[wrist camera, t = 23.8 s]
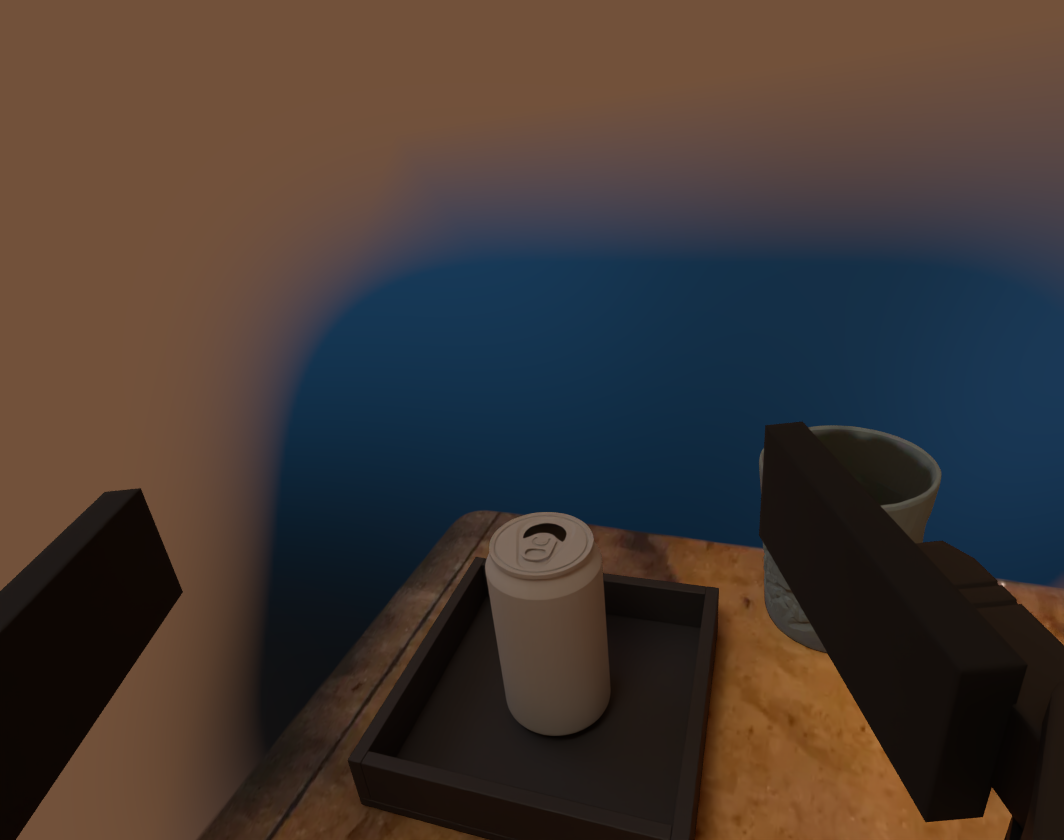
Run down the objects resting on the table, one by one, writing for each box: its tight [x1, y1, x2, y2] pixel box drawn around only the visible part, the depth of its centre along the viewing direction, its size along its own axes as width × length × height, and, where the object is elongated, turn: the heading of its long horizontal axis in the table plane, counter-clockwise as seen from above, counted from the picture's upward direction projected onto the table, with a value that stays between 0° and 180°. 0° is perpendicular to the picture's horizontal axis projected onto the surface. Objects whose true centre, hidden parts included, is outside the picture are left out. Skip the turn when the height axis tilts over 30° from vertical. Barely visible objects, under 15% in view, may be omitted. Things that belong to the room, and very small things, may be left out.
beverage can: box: [485, 512, 611, 736], centre depth 38 cm, size 6×6×12 cm
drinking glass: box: [759, 426, 941, 653], centre depth 44 cm, size 10×10×12 cm
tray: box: [348, 557, 719, 840], centre depth 40 cm, size 18×18×4 cm
